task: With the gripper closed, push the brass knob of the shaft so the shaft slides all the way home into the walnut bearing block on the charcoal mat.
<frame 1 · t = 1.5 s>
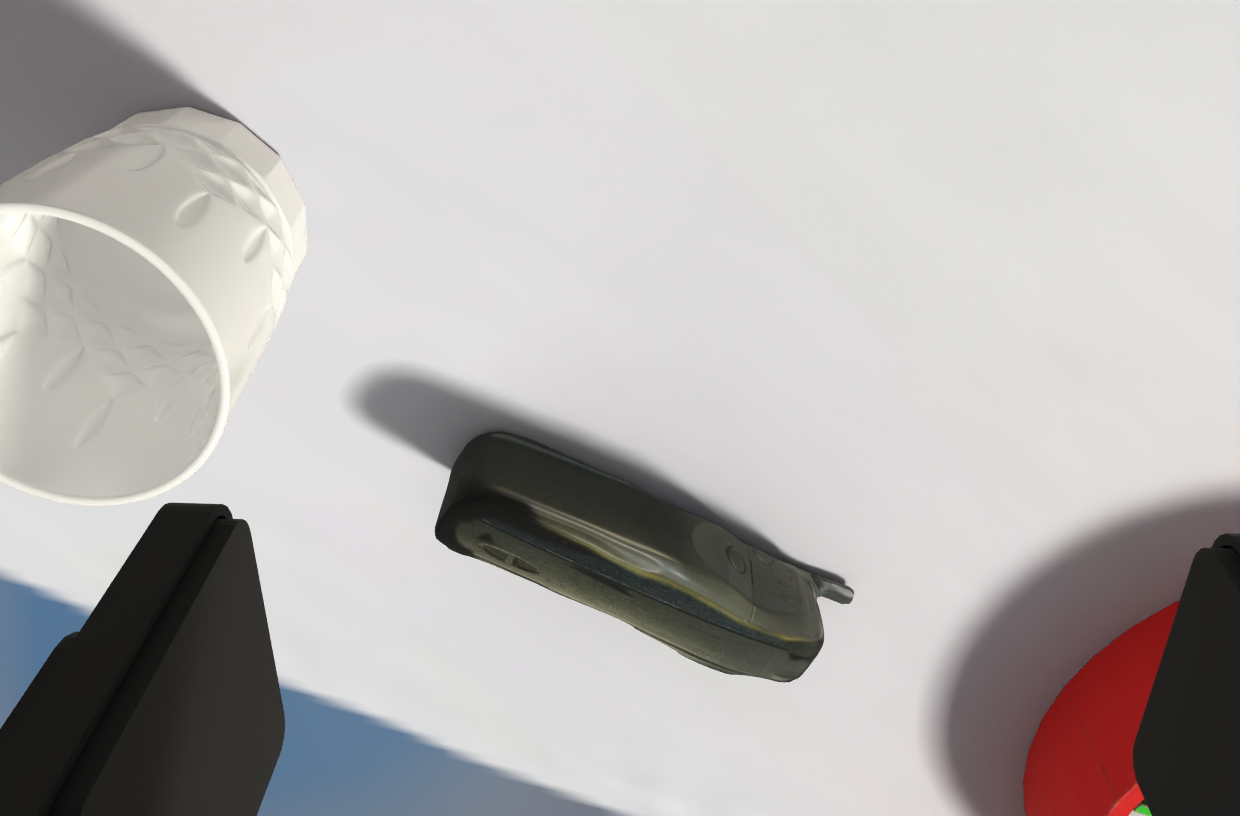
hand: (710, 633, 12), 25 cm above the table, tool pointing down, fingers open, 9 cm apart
white cup: (201, 212, 36), on the table
mobile phone: (657, 520, 41), on the table
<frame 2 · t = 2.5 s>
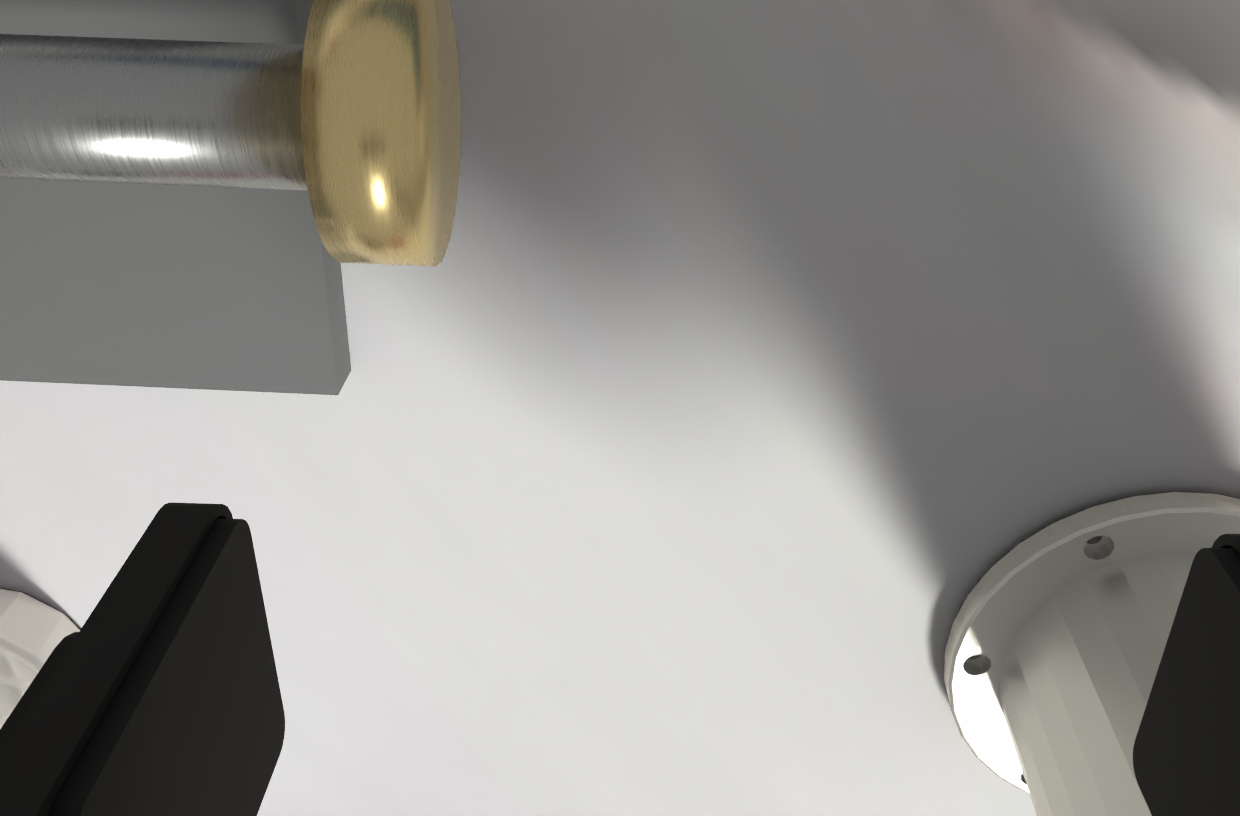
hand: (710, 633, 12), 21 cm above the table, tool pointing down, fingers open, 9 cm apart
white cup: (12, 655, 40), on the table
shaft: (18, 107, 25), point 5 cm above the table, slide at 7.0 cm
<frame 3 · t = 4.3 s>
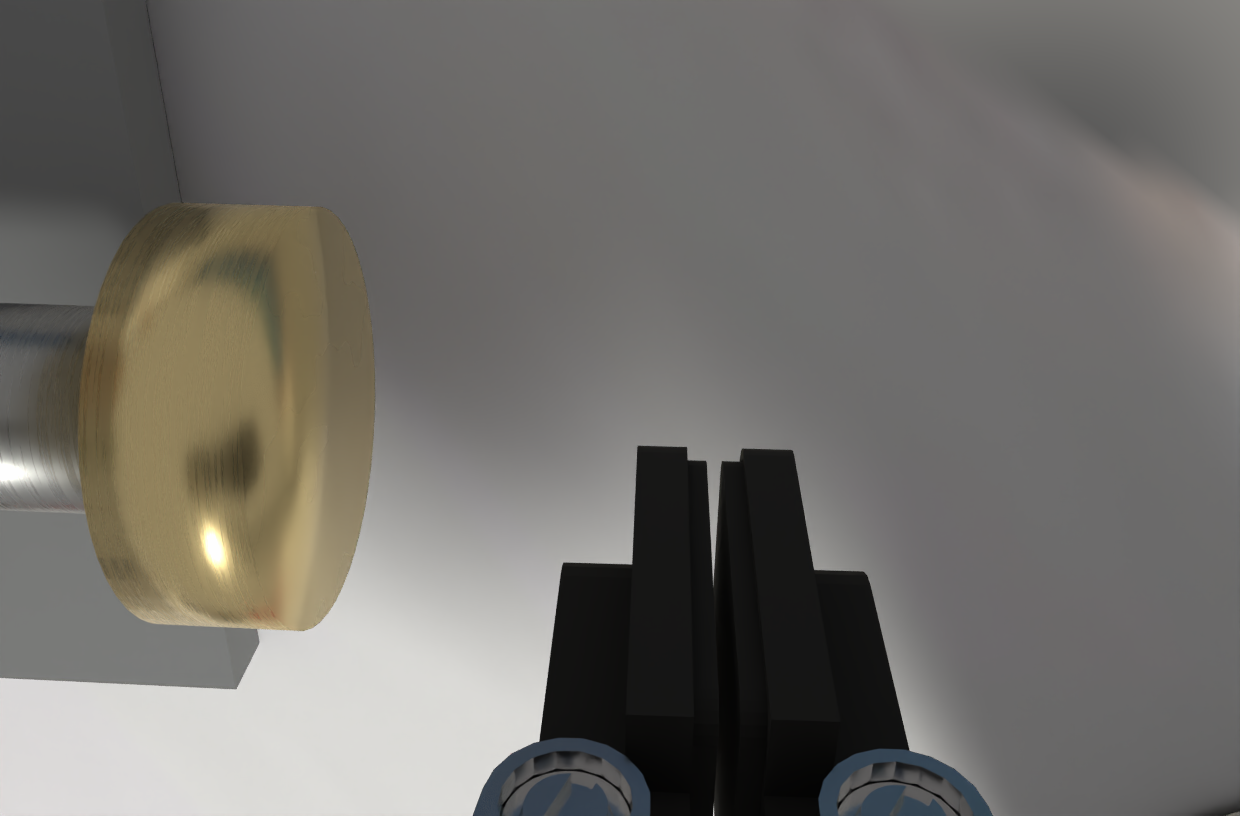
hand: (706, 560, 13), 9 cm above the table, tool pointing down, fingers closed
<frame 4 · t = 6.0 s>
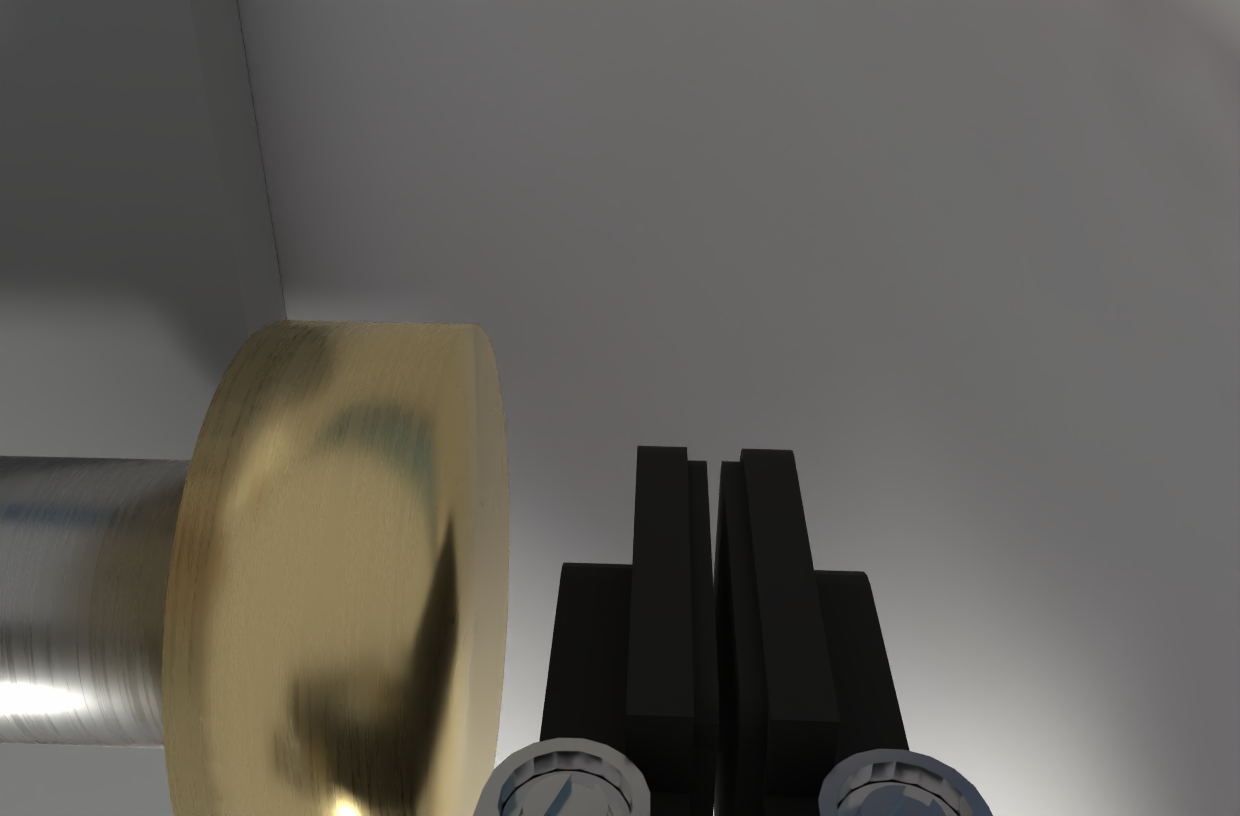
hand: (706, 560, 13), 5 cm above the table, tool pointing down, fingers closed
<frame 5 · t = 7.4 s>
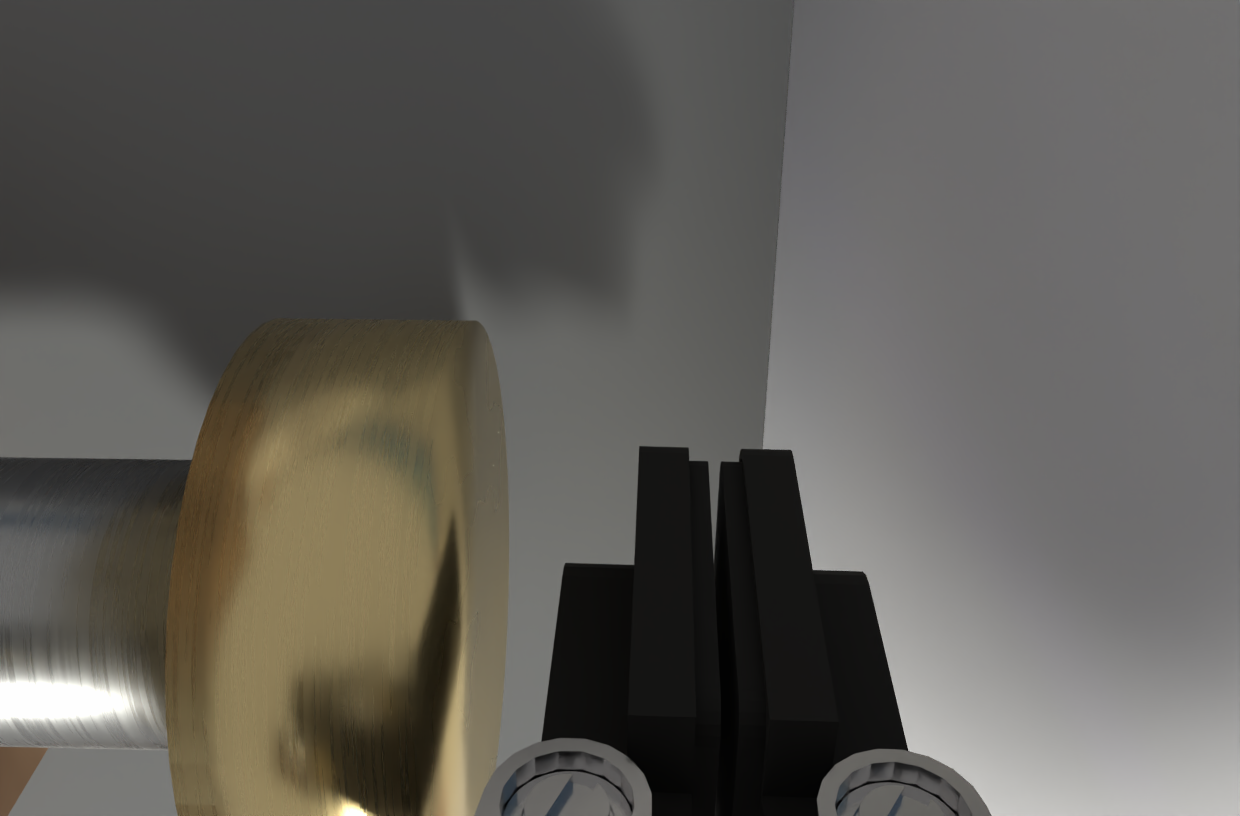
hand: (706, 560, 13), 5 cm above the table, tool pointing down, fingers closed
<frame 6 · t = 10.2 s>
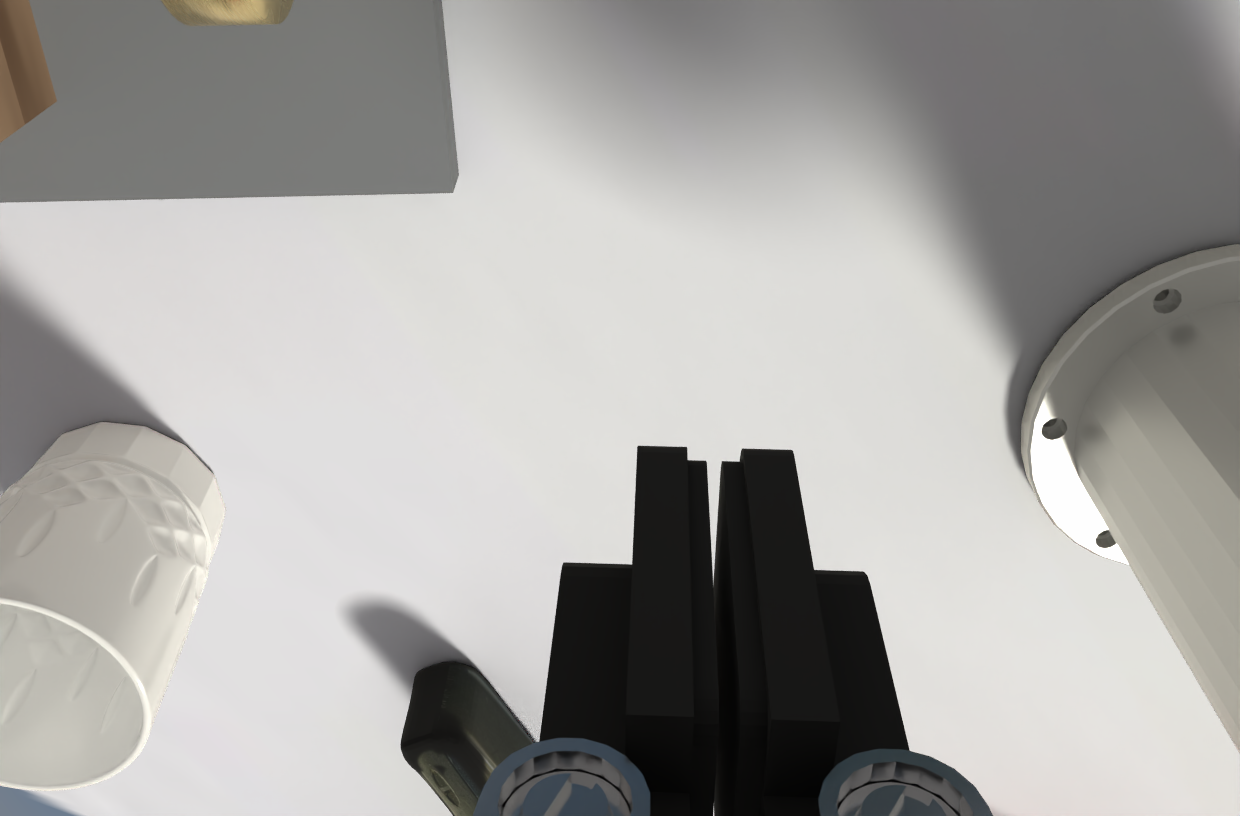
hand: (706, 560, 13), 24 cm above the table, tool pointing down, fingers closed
white cup: (135, 494, 42), on the table
mobile phone: (527, 766, 50), on the table
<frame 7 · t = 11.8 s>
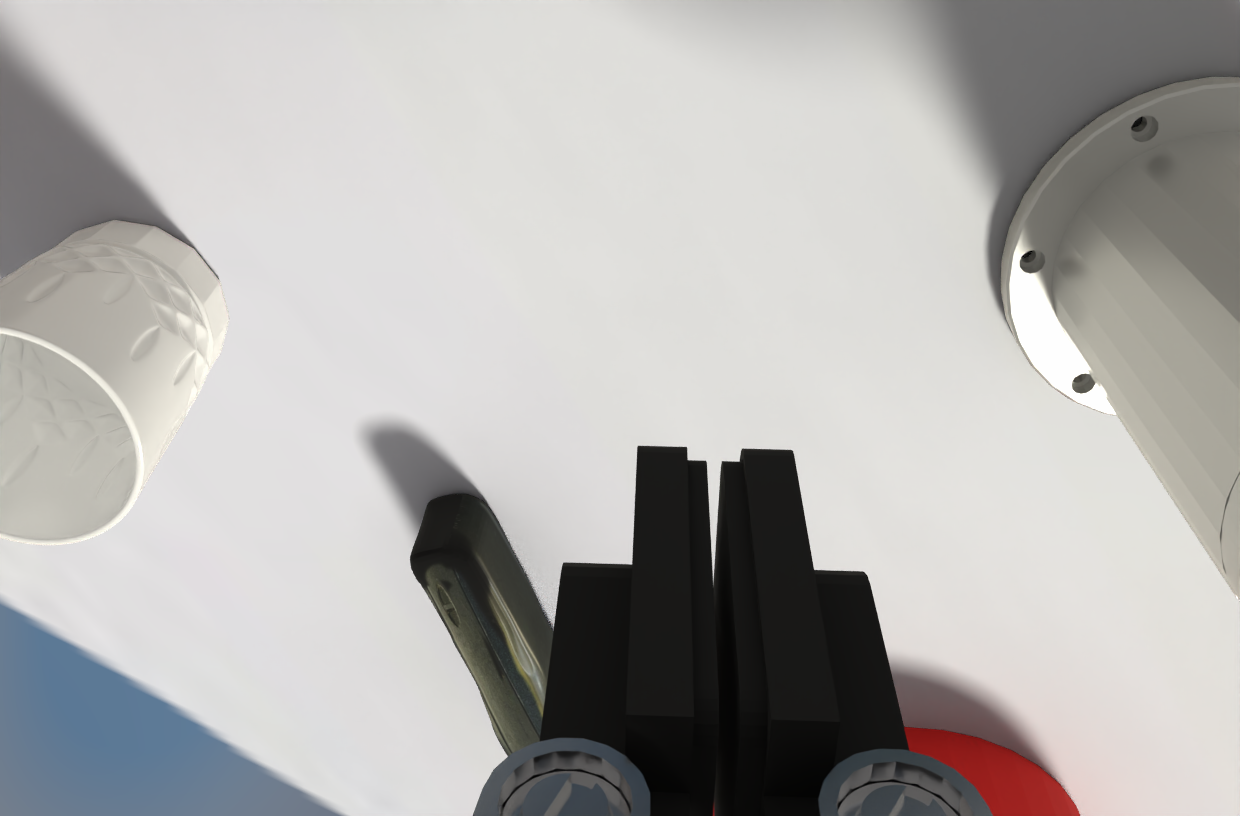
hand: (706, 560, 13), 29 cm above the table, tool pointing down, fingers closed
white cup: (143, 300, 44), on the table
mobile phone: (522, 617, 51), on the table
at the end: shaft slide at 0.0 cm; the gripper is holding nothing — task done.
